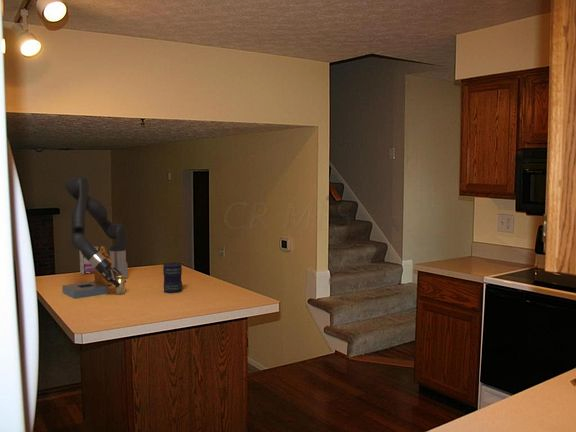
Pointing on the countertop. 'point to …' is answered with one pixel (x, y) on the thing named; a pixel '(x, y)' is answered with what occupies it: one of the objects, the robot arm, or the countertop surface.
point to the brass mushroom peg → (121, 281)
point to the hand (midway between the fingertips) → (121, 284)
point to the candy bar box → (86, 264)
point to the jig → (85, 289)
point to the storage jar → (172, 277)
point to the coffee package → (97, 275)
